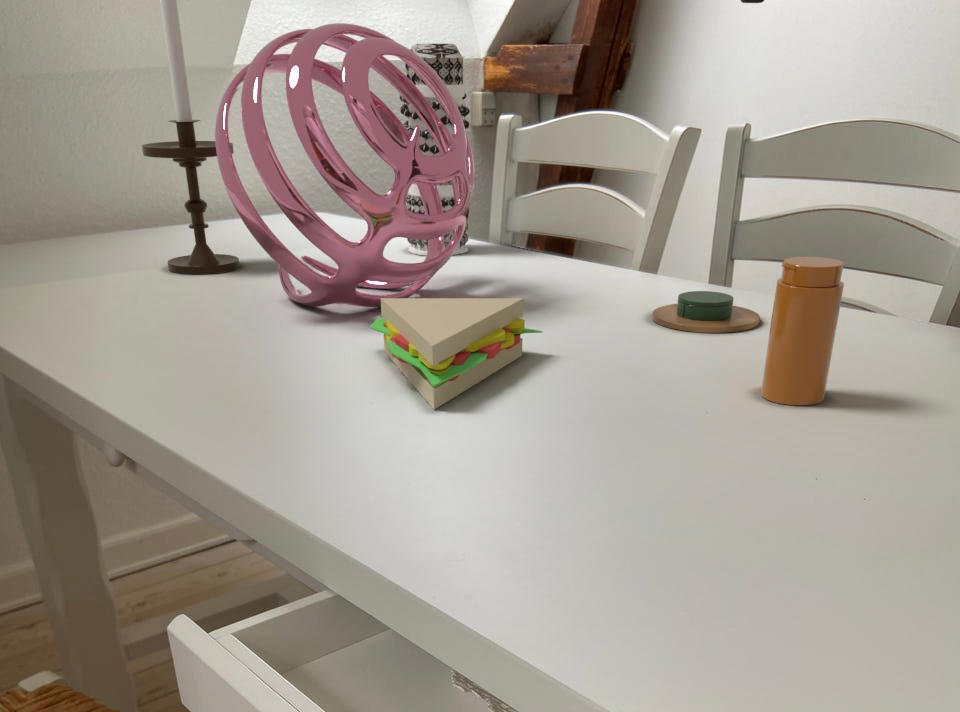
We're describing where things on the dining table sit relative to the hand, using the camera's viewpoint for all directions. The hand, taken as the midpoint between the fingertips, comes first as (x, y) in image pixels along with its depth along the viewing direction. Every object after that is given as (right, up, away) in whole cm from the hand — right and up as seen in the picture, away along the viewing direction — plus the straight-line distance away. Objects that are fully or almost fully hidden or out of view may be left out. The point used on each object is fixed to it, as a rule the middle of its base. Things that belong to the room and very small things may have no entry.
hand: (772, 1), depth 88 cm
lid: (-2, -21, +16) cm, 26 cm away
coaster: (-2, -22, +17) cm, 28 cm away
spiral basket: (-39, -18, +26) cm, 50 cm away
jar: (0, -36, -5) cm, 36 cm away
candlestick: (-62, -8, +43) cm, 76 cm away
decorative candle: (-32, -1, +53) cm, 62 cm away
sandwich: (-30, -33, 0) cm, 44 cm away
